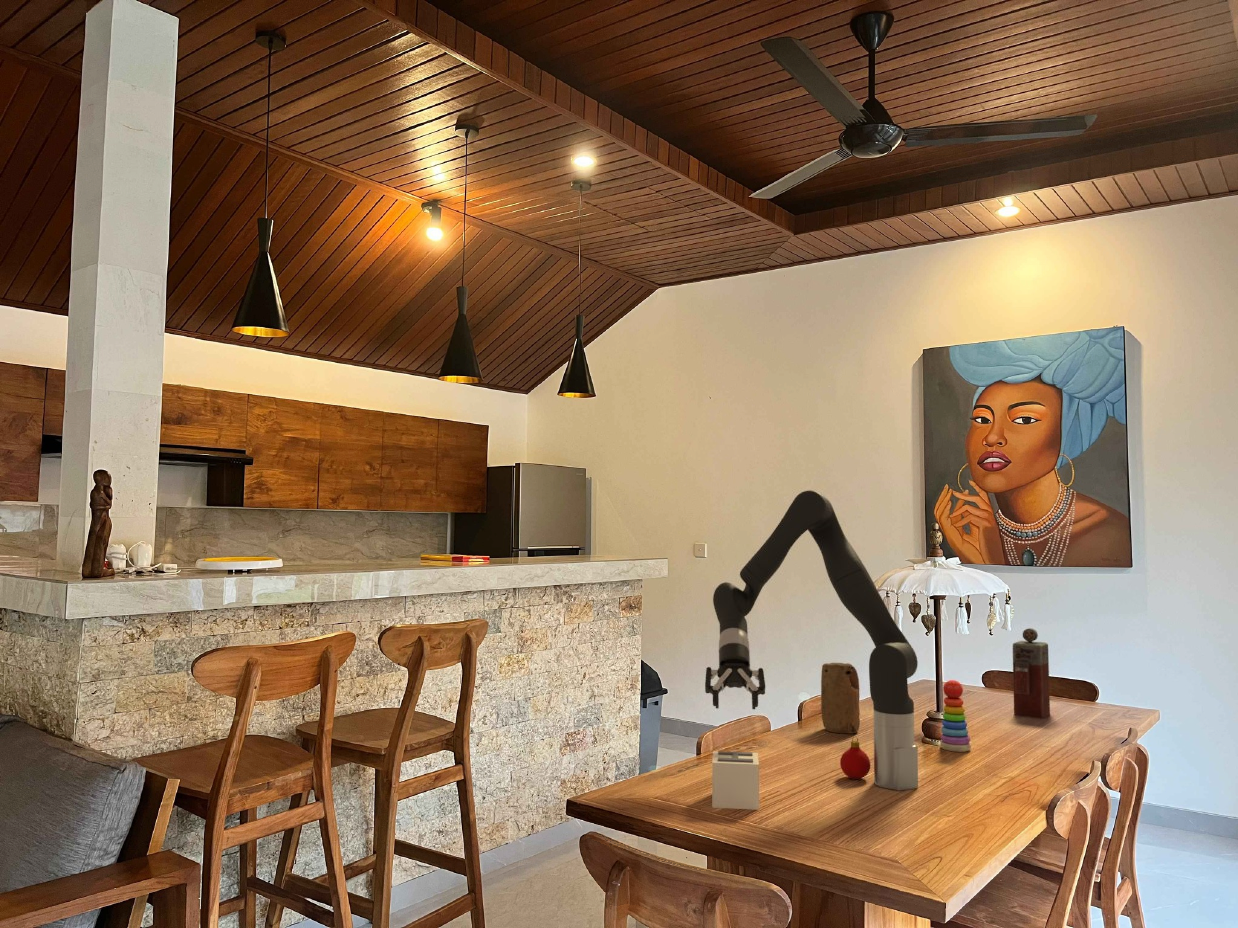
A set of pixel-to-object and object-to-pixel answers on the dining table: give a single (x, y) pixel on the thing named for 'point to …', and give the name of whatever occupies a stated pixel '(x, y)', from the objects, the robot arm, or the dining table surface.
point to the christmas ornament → (855, 761)
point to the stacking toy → (954, 720)
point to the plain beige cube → (735, 780)
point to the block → (840, 698)
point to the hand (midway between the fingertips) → (735, 706)
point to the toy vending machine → (1031, 676)
